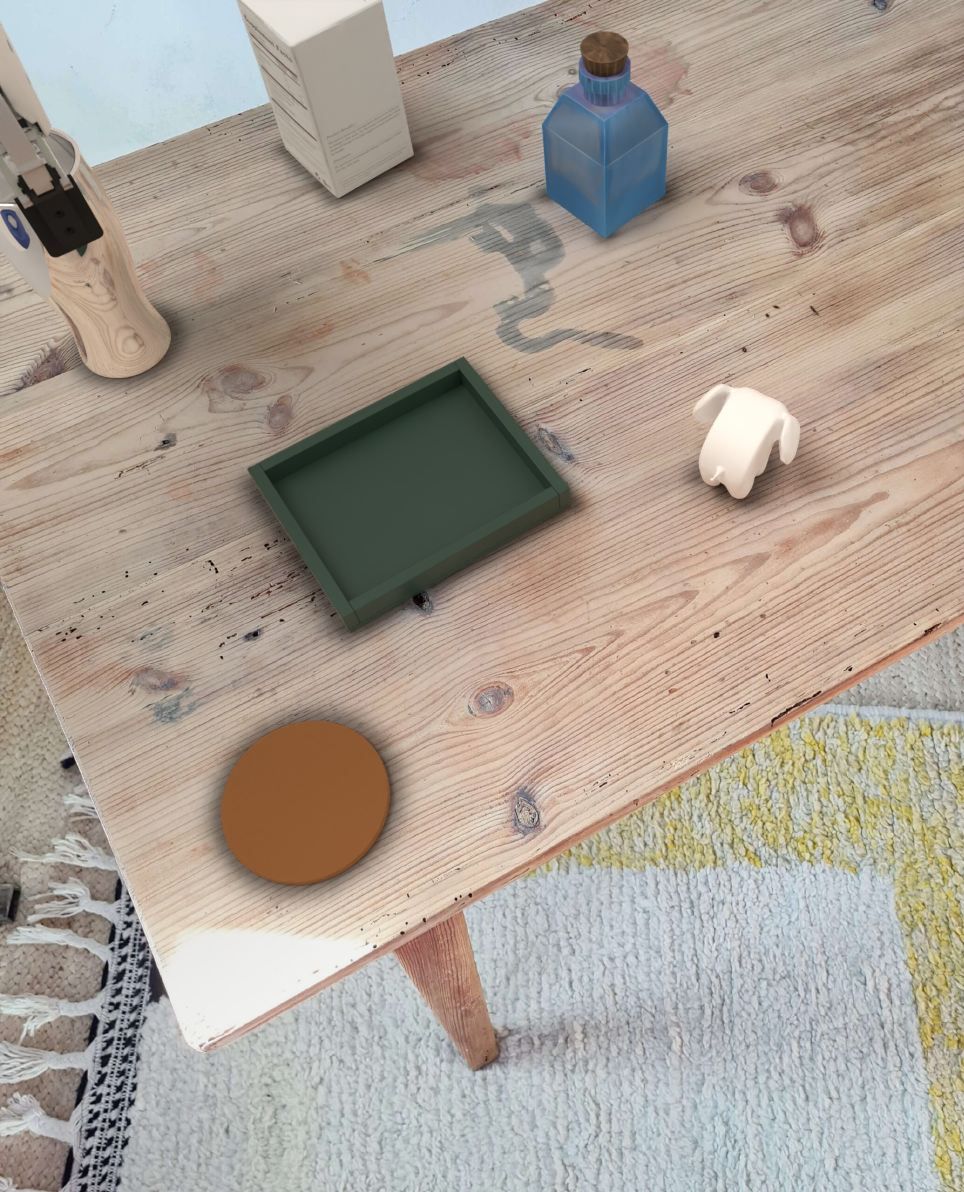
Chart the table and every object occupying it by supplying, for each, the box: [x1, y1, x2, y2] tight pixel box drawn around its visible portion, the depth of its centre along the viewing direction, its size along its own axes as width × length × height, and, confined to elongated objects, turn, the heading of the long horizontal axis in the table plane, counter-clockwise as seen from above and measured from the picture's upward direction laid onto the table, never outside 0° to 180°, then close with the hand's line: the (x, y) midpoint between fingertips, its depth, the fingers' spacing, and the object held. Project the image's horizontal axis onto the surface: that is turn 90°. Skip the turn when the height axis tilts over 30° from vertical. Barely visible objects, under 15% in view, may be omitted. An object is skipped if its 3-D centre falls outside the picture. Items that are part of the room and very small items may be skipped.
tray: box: [246, 355, 572, 634], centre depth 67 cm, size 16×13×2 cm
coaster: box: [220, 720, 391, 886], centre depth 58 cm, size 9×9×1 cm
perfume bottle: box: [541, 30, 669, 239], centre depth 75 cm, size 6×6×12 cm
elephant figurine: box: [691, 383, 801, 500], centre depth 66 cm, size 7×8×6 cm
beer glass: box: [0, 126, 172, 379], centre depth 67 cm, size 7×7×15 cm
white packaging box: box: [236, 0, 415, 199], centre depth 77 cm, size 7×7×13 cm
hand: (46, 194), depth 63 cm, fingers open, 9 cm apart
